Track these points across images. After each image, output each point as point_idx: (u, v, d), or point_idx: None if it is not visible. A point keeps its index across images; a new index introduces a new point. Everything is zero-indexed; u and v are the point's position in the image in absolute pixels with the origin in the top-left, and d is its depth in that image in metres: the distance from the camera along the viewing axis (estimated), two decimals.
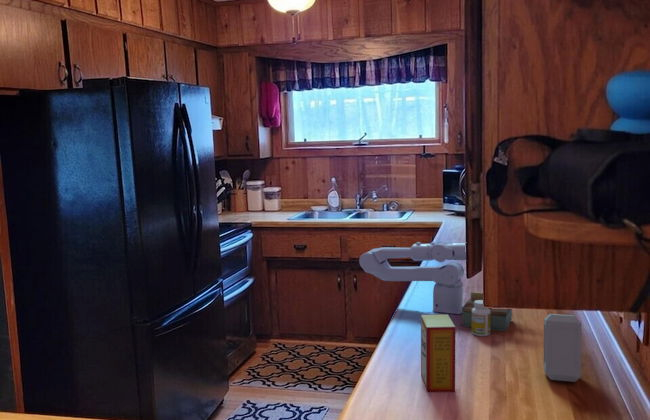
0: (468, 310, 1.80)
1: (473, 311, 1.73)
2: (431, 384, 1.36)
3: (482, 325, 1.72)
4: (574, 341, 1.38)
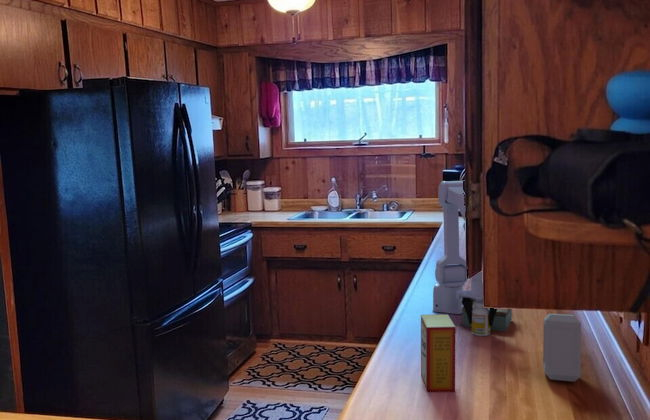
0: None
1: (473, 311, 1.73)
2: (431, 384, 1.36)
3: (482, 324, 1.72)
4: (573, 341, 1.38)
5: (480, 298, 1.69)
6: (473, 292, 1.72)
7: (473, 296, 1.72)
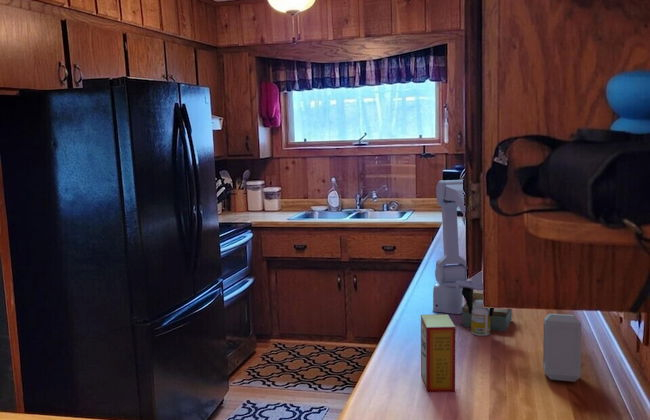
0: None
1: (473, 311, 1.73)
2: (431, 384, 1.36)
3: (482, 324, 1.72)
4: (573, 341, 1.38)
5: (480, 288, 1.69)
6: (473, 282, 1.71)
7: (473, 286, 1.71)
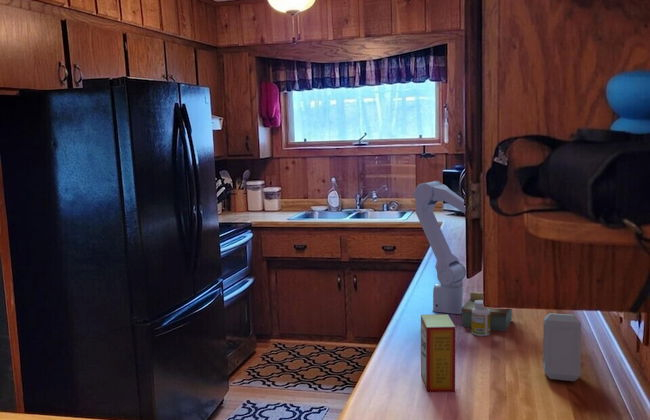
0: (468, 311, 1.79)
1: (473, 311, 1.73)
2: (431, 384, 1.36)
3: (482, 325, 1.72)
4: (573, 340, 1.38)
5: None
6: None
7: None
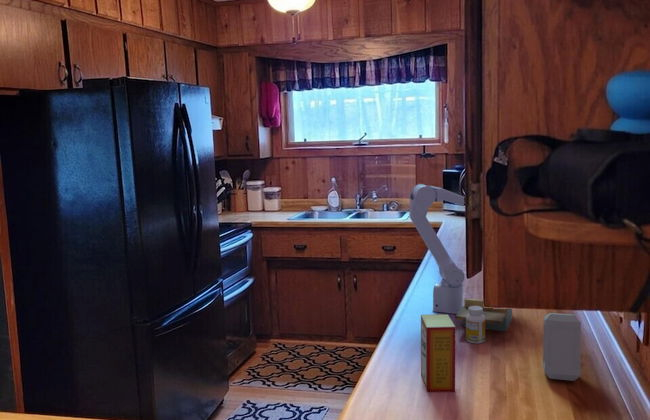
0: (462, 318, 1.72)
1: (467, 317, 1.67)
2: (431, 384, 1.36)
3: (476, 332, 1.66)
4: (573, 340, 1.38)
5: None
6: None
7: None
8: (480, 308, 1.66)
